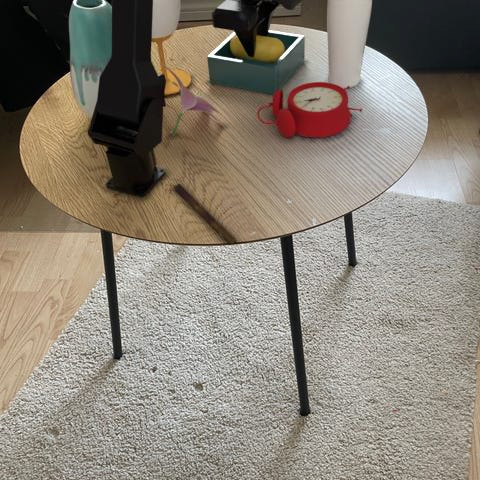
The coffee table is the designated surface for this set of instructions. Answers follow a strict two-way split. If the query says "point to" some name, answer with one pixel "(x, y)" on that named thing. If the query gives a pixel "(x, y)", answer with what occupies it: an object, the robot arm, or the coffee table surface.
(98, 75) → the vase
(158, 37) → the cup
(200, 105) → the lily
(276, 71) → the open box
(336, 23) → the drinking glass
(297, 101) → the alarm clock
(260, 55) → the yellow capsule cylinder
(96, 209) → the coffee table surface
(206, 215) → the dark brown stick
